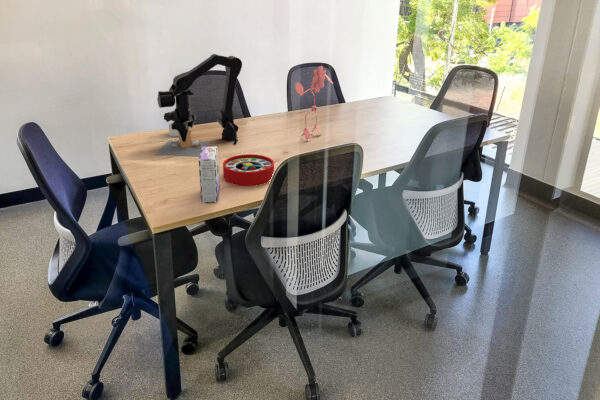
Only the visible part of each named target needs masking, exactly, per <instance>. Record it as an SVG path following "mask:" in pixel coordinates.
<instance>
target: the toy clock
mask: <svg viewBox="0 0 600 400" xmlns="http://www.w3.org/2000/svg"><path fill="white" fill-rule="evenodd" d="M222 168H223V169H222V170H223V180H224V181H225V182H227V183H229V184H231V185H235V186H239V187H255V186H256V185H257V186H261V184H262V185H265V184H267V182H268V181H269V180H270V179H271V177H272V174H273V172H274V173H275V160H274V159H272V158H271V157H269V156H265V155H262V154H261V155H260V154H254V153H253V154H250V153H247V154H239V155H234V156H229V157H228V158H226V159H225V160H224V161H223V163H222ZM264 183H265V184H264ZM268 183H269V182H268Z"/></svg>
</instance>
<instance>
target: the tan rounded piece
mask: <svg viewBox="0 0 600 400" xmlns="http://www.w3.org/2000/svg"><path fill="white" fill-rule="evenodd" d="M178 133H179V131H178ZM178 139H179V143H178V146H181V147H191V146H199V144H198V145H193V144H192V143H193V141H194V138H193V127H192V128H191V127H189V130H188V133H187V137H186V141H185V142H183V141H182V138H181V136H180V133H179V137H178Z"/></svg>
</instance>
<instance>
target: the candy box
mask: <svg viewBox="0 0 600 400" xmlns="http://www.w3.org/2000/svg"><path fill="white" fill-rule="evenodd" d="M219 162H220V161H219V148H218V146H213V145H211V146H210V145H209V146H208V147H202V149H201V153H200V157H198V170H199V171H198V172H199V184H200V185H199V187H200V199H201V204H218V202H219V198H220V189H221V180H220V179H221V176H220V164H219Z"/></svg>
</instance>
